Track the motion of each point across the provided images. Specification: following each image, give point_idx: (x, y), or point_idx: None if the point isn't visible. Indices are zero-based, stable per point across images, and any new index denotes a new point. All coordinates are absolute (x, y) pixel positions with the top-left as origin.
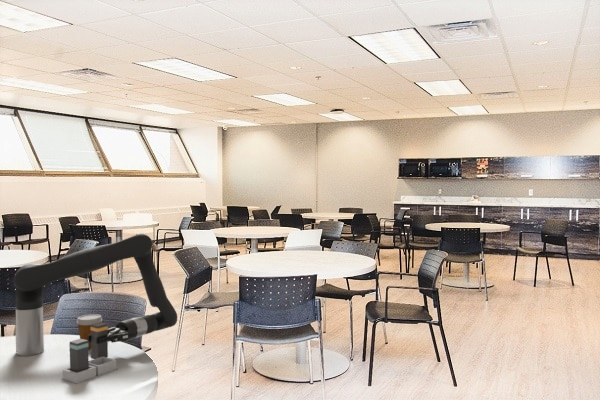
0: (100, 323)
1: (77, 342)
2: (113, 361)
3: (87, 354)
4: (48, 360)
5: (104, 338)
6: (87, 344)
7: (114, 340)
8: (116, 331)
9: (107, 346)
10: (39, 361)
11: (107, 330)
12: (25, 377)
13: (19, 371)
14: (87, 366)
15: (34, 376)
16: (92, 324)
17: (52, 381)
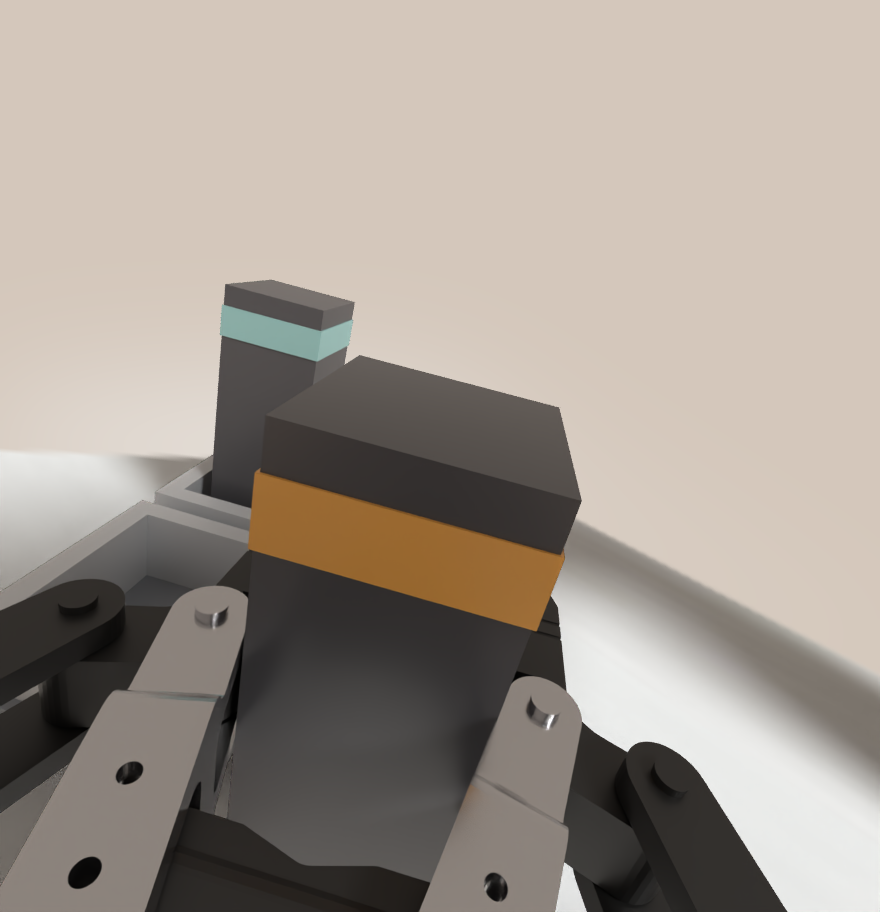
0: (460, 433)
1: (285, 286)
2: (7, 591)
3: (222, 392)
4: (868, 839)
5: (235, 570)
6: (226, 315)
7: (42, 718)
8: (8, 894)
9: (228, 812)
10: (875, 794)
11: (253, 571)
12: (588, 568)
13: (710, 621)
14: (217, 473)
15: (566, 580)
16: (536, 406)
17: None
